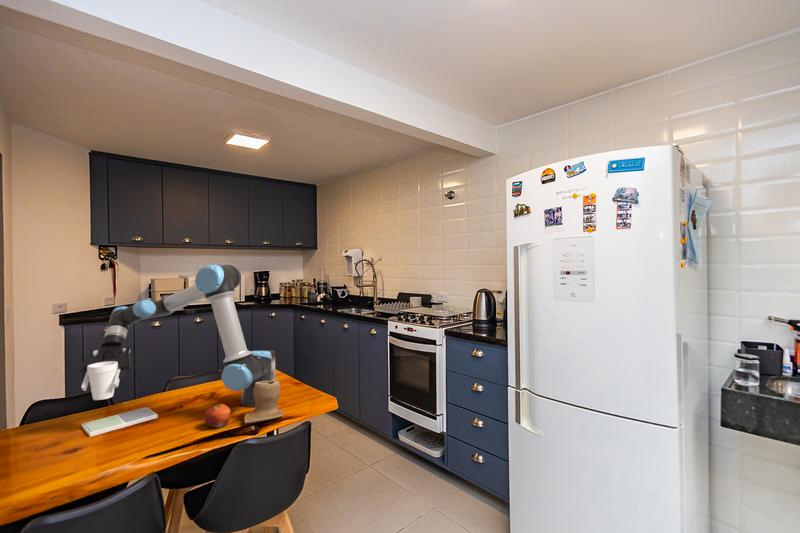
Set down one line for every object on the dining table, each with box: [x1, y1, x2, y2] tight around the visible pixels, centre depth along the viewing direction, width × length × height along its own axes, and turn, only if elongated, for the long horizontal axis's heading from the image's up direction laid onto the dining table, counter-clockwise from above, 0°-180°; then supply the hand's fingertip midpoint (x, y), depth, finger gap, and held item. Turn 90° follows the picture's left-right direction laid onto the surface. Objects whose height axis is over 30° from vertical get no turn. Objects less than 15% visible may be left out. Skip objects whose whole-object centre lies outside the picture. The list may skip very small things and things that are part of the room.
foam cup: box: [87, 360, 119, 401], centre depth 147 cm, size 10×9×13 cm
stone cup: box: [243, 380, 284, 424], centre depth 152 cm, size 15×12×15 cm
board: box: [81, 406, 159, 437], centre depth 151 cm, size 14×22×2 cm, turn 140°
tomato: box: [204, 403, 231, 428], centre depth 146 cm, size 9×9×8 cm
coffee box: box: [268, 349, 276, 381], centre depth 202 cm, size 9×6×16 cm
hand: (99, 387), depth 144 cm, fingers closed on foam cup, 9 cm apart
